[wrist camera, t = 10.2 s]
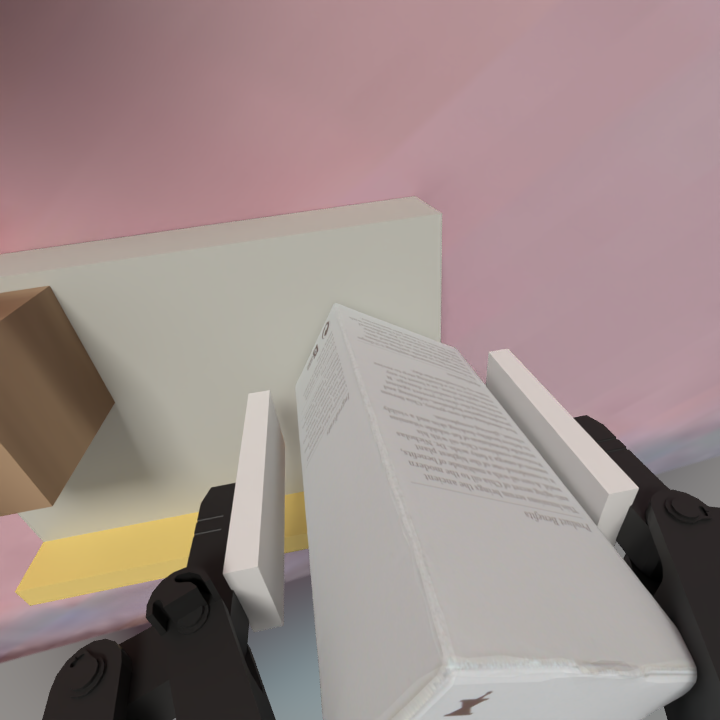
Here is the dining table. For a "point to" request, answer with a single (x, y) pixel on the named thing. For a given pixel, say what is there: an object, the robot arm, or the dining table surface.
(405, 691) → the skincare box
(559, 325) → the dining table surface
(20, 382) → the tan wooden cube
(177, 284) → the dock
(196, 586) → the robot arm
